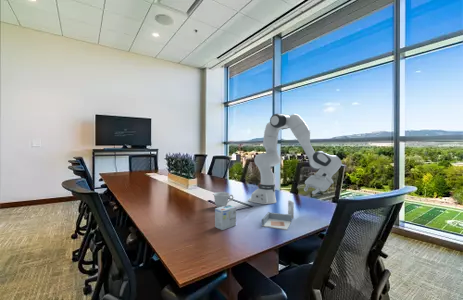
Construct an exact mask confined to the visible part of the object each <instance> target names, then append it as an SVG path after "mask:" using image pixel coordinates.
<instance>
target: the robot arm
mask: <svg viewBox="0 0 463 300" xmlns="http://www.w3.org/2000/svg"><path fill="white" fill-rule="evenodd" d="M269 118H270V119H269V122H268V123H266V125H265V128H264V132H263V133H264V134H263V141H262V146H263V147H264V149H265V153H264V152H263V153H259V154H256V155H255V157H254V161H253V162H254V164H255V166H257V168H258V170H259V174H260V183H258V184H257V188H256V189H255V190H254V191H253V192H252V193H251V195H250V198H249V197H248V199H247V201H248V202H250V203H256V204H261V205H268V204H277V199H276V184H275V177H276V175H275V173H274V172H273V171H272V167H275V166H277V165H280V163H281V160H282V158H281V156H280V154H279V153H278V141H279V133H280V131H281V130H288V129H290V131H291V132H292V134H293V136H295V138H296V140H297V141H298V143H299V144H300V146H301V148H302V150H303V151H304V153H305V155H306V157H307V159H308V165H309V167H310V168H311V169H312V170H314V171H317V172H315V174H311V175H310V176H309V177H307V178H306V180H305V181H304V184H305V186H304V188H303V190H304V192H307V191H309V190H308V189H309V188H312V189H314V190H312V192H311V194H312V195H314V196H315V195H316V194H317V193H319V192H320V191H321V192H325V191H327V190H328V189H329V188H330V186H331V185H332V184H334V179H333V178H332V177H333V176H334V175H335V174H336V173H337V172H338V171H339V169H340V168H341V166H342V164H343V163H342V160H341V158H340V157H338V155H334V154H328V153H326V152H325V151H322V150H317V151H315V150H314V147H313V146H312V144H311V130H310V128H309V125H308V124H307V123H306V122H305V120H304V119H303V118H302V117H301V116H300V115H299V114H298V113H292V114H291V115H290V114H285V113H274V114H272V115H271V117H269Z"/></svg>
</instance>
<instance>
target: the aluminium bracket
mask: <svg viewBox="0 0 463 300" xmlns="http://www.w3.org/2000/svg"><path fill="white" fill-rule="evenodd" d="M294 203H295V202H294V201H292V200H289V199H288V201H287V213H286V214H287V215H291V220H292V219H295V218H294V214H295V213H294V211H295V210H294V205H295V204H294Z"/></svg>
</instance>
